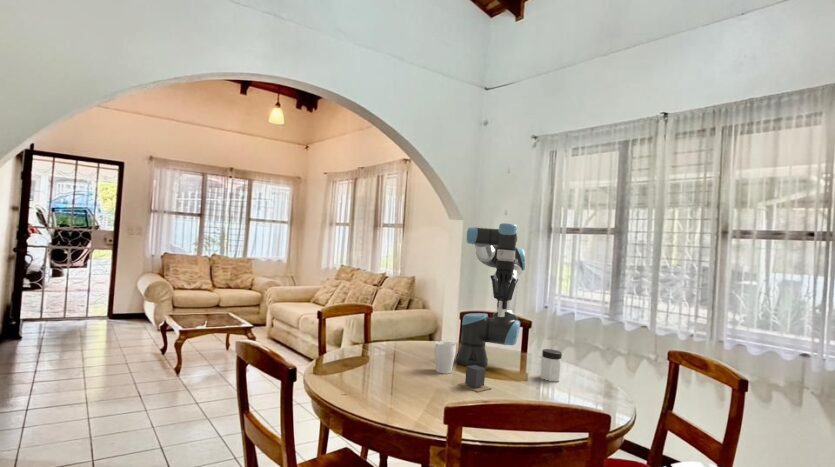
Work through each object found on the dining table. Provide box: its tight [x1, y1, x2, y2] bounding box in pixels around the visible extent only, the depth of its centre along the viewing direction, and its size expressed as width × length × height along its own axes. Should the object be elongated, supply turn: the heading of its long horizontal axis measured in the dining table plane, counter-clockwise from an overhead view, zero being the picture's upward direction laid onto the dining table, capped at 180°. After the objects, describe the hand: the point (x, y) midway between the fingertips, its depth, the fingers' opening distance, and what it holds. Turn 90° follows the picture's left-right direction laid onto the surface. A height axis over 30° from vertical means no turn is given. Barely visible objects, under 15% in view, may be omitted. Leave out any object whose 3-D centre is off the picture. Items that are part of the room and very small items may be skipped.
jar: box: [539, 348, 562, 382], centre depth 196 cm, size 9×8×12 cm
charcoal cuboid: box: [464, 365, 486, 387], centre depth 174 cm, size 5×5×7 cm
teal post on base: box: [458, 381, 492, 393], centre depth 174 cm, size 10×8×7 cm
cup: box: [434, 340, 457, 375], centre depth 193 cm, size 9×9×12 cm
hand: (501, 316), depth 187 cm, fingers closed
